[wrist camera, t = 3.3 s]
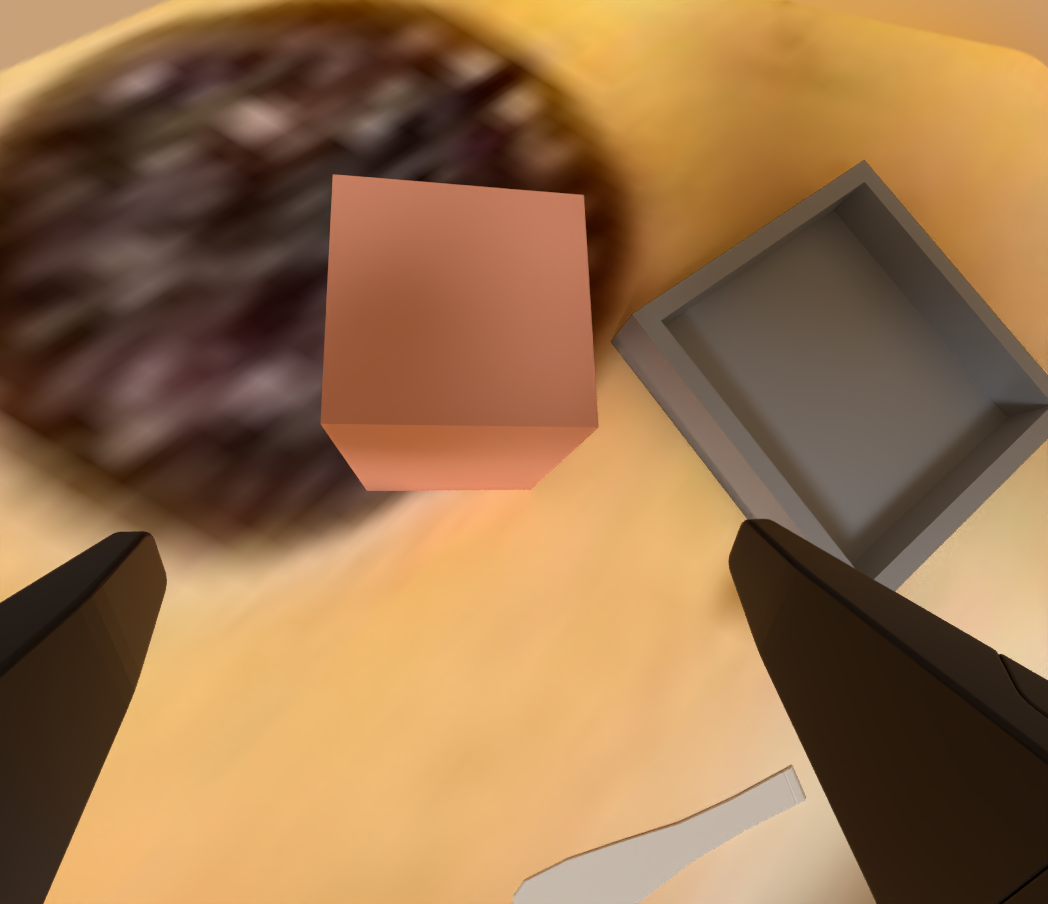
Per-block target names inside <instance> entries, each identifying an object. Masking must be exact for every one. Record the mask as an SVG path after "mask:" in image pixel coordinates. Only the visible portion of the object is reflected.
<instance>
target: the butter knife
mask: <svg viewBox="0 0 1048 904" xmlns="http://www.w3.org/2000/svg"><path fill="white" fill-rule="evenodd" d="M805 799H806V796H805V793H804V791H803V789H802V786H801V784H800V782H799V779H798V777H797V775H796V772H795V770H794V768H793V765H791V766H789V767H788V768H786V769H784V770H783V772H782V771H780V772H778V773H777V774H775V775H773V776H771V777H769V778H767V779H765V780H764V781H762V782H760V783H758V784H756V785H754V786H753V787H751V788H749V789H747V790H745V791H743V792H741V793H739V794H738V795H736V796H734V797H732V798H730V799H728V800H726V801H724V802H721V803H719V804H717V805H715V806H713V807H710V808H708V809H706V810H704V811H702V812H700V813H697V814H695V815H693V816H691V817H689V818H687V819H684V820H682V821H680V822H678V823H675V824H672V825H668V826H665V827H662V828H659V829H656V830H653V831H649V832H646V833H643V834H640V835H637V836H633V837H630V838H627V839H623V840H620V841H617V842H614V843H611V844H608V845H605V846H603V847H600V848H597V849H594V850H591V851H588V852H585V853H582V854H579V855H576V856H573V857H570V858H566V859H564V860H562V861H560V862H558V863H556V864H555V865H553V866H551V867H549V868H547V869H545V870H543V871H541V872H539V873H537V874H535V875H533V876H531V877H529V878H527V879H525V880H524V881H523V882H522V884H521V885H520V887H519V888H518V889H517V891H516V892H515V894H514V897H513V904H638V903H639V902H641V901H642V900H643V899H645V898H646V897H647V896H649V895H650V894H651V893H652V892H654V891H655V890H656V889H658V888H659V887H660V886H662V885H663V884H664V883H665V882H667V881H668V880H669V879H671V878H672V877H673V876H675V875H676V874H677V873H678V872H680V871H681V870H682V869H684V868H685V867H686V866H687V865H689V864H690V863H691V862H693V861H694V860H696V859H698V858H699V857H701V856H703V855H704V854H706V853H708V852H709V851H711V850H713V849H715V848H716V847H718V846H720V845H721V844H723V843H725V842H726V841H728V840H730V839H731V838H733V837H735V836H736V835H738V834H740V833H742V832H743V831H745V830H747V829H749V828H751V827H753V826H755V825H757V824H759V823H761V822H763V821H765V820H767V819H769V818H771V817H773V816H775V815H777V814H779V813H781V812H783V811H785V810H787V809H789V808H791V807H793V806H795V805H796V804H799V803H800V802H802V801H804V800H805Z"/></svg>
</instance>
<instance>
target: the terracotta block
mask: <svg viewBox="0 0 1048 904" xmlns="http://www.w3.org/2000/svg"><path fill="white" fill-rule="evenodd" d="M321 425H322V427H323V428H324V429H325V431H326V432H327V434H328V435H329V437H330V438H331V440H332V441H333V442H334V444H335V445H336V447H337V448H338V450H339V451H340V452H341V454H342V455H343V457H344V458H345V460H346V461H347V463H348V464H349V465H350V467H351V468H352V470H353V471H354V473H355V474H356V476H357V477H358V478H359V480H360V481H361V483H362V484H363V486H364V487H365V488H366V490H367V491H428V490H531V489H532V488H533V487H534V486H535V485H536V484H537V483H538V482H539V481H541V480H542V479H543V478H544V477H545V476H546V475H547V474H548V473H549V472H550V471H551V470H552V469H554V468H555V467H556V466H557V465H558V464H559V463H560V462H561V461H562V460H563V459H564V458H566V457H567V456H568V455H569V454H570V453H571V452H572V451H573V450H574V449H575V448H576V447H578V446H579V445H580V444H581V443H582V442H583V441H584V440H585V439H586V438H587V437H588V436H590V435H591V434H592V433H593V432H594V431H595V430H596V429H597V428H598V413H597V397H596V382H595V366H594V350H593V334H592V318H591V302H590V286H589V270H588V254H587V239H586V223H585V207H584V195H578V194H565V193H553V192H541V191H529V190H517V189H504V188H492V187H480V186H468V185H455V184H443V183H431V182H419V181H406V180H394V179H382V178H370V177H357V176H345V175H333V184H332V204H331V225H330V245H329V265H328V285H327V306H326V326H325V346H324V366H323V387H322V407H321Z"/></svg>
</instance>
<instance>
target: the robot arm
mask: <svg viewBox="0 0 1048 904" xmlns="http://www.w3.org/2000/svg"><path fill="white" fill-rule="evenodd" d="M729 569H730V573H731V575H732V578H733V581H734V584H735V587H736V590H737V593H738V595H739V598H740V601H741V604H742V607H743V610H744V613H745V615H746V618H747V621H748V624H749V627H750V630H751V633H752V636H753V638H754V641H755V644H756V646H757V649H758V651H759V654H760V656H761V658H762V660H763V663H764V665H765V667H766V669H767V671H768V674H769V676H770V678H771V680H772V682H773V684H774V686H775V688H776V691H777V693H778V695H779V697H780V699H781V701H782V703H783V705H784V708H785V710H786V712H787V714H788V716H789V718H790V720H791V722H792V725H793V727H794V729H795V731H796V733H797V735H798V737H799V739H800V742H801V744H802V746H803V748H804V750H805V752H806V754H807V757H808V759H809V761H810V763H811V765H812V767H813V769H814V771H815V774H816V776H817V778H818V780H819V782H820V784H821V786H822V788H823V791H824V793H825V795H826V797H827V799H828V801H829V803H830V805H831V808H832V810H833V812H834V814H835V816H836V818H837V820H838V822H839V825H840V827H841V829H842V831H843V833H844V835H845V837H846V839H847V842H848V844H849V846H850V848H851V850H852V852H853V854H854V857H855V859H856V861H857V863H858V865H859V867H860V869H861V871H862V874H863V876H864V878H865V880H866V882H867V884H868V886H869V888H870V891H871V893H872V895H873V897H874V899H875V901H876V903H877V904H1048V680H1046V679H1045V678H1043V677H1041V676H1039V675H1038V674H1036V673H1034V672H1032V671H1031V670H1029V669H1027V668H1025V667H1024V666H1022V665H1020V664H1019V663H1017V662H1015V661H1013V660H1012V659H1010V658H1008V657H1007V656H1005V655H1003V654H998V653H997V651H996V650H994V649H993V648H991V647H989V646H987V645H986V644H984V643H982V642H981V641H979V640H977V639H975V638H974V637H972V636H970V635H969V634H967V633H965V632H963V631H962V630H960V629H958V628H957V627H955V626H953V625H951V624H950V623H948V622H946V621H944V620H943V619H941V618H939V617H938V616H936V615H934V614H932V613H931V612H929V611H927V610H926V609H924V608H922V607H920V606H919V605H917V604H915V603H913V602H912V601H910V600H908V599H907V598H905V597H903V596H901V595H900V594H898V593H896V592H895V591H893V590H891V589H889V588H888V587H886V586H884V585H883V584H881V583H879V582H877V581H876V580H874V579H872V578H870V577H869V576H867V575H865V574H864V573H862V572H860V571H858V570H857V569H855V568H853V567H852V566H850V565H848V564H846V563H845V562H843V561H841V560H840V559H838V558H836V557H834V556H833V555H831V554H829V553H827V552H826V551H824V550H822V549H821V548H819V547H817V546H815V545H814V544H812V543H810V542H809V541H807V540H805V539H803V538H802V537H800V536H798V535H797V534H795V533H793V532H791V531H790V530H788V529H786V528H785V527H783V526H781V525H779V524H778V523H776V522H774V521H772V520H770V519H748V520H745V521H744V522H743V523H742V524H741V526H740V528H739V531H738V534H737V536H736V539H735V542H734V544H733V547H732V550H731V552H730V555H729ZM166 585H167V578H166V572H165V569H164V566H163V563H162V560H161V557H160V554H159V551H158V548H157V545H156V542H155V540H154V538H153V536H152V535H151V534H150V533H148V532H144V531H139V532H117V533H114V534H112V535H110V536H108V537H107V538H105V539H103V540H102V541H100V542H99V543H97V544H95V545H94V546H92V547H90V548H89V549H87V550H86V551H84V552H82V553H81V554H79V555H77V556H76V557H74V558H72V559H71V560H69V561H68V562H66V563H64V564H63V565H61V566H59V567H58V568H56V569H55V570H53V571H51V572H50V573H48V574H46V575H45V576H43V577H41V578H40V579H38V580H37V581H35V582H33V583H32V584H30V585H28V586H27V587H25V588H24V589H22V590H20V591H19V592H17V593H15V594H14V595H12V596H10V597H9V598H7V599H6V600H4V601H2V602H1V603H0V904H43V903H44V901H45V899H46V896H47V894H48V892H49V890H50V887H51V885H52V883H53V880H54V878H55V876H56V873H57V871H58V869H59V866H60V864H61V862H62V859H63V857H64V855H65V853H66V850H67V848H68V846H69V843H70V841H71V839H72V836H73V834H74V832H75V829H76V827H77V825H78V822H79V820H80V818H81V816H82V813H83V811H84V809H85V806H86V804H87V802H88V799H89V797H90V795H91V792H92V790H93V788H94V786H95V783H96V781H97V779H98V776H99V774H100V772H101V769H102V767H103V765H104V762H105V760H106V758H107V755H108V753H109V751H110V749H111V746H112V744H113V742H114V739H115V737H116V735H117V732H118V730H119V728H120V725H121V723H122V721H123V718H124V716H125V714H126V712H127V709H128V707H129V704H130V702H131V699H132V697H133V694H134V692H135V689H136V686H137V683H138V680H139V677H140V674H141V671H142V667H143V664H144V661H145V657H146V654H147V651H148V647H149V644H150V641H151V638H152V634H153V631H154V628H155V624H156V621H157V618H158V614H159V611H160V608H161V604H162V601H163V598H164V594H165V591H166Z"/></svg>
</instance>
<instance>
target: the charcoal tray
mask: <svg viewBox="0 0 1048 904" xmlns="http://www.w3.org/2000/svg"><path fill="white" fill-rule="evenodd" d="M611 343H612V344H613V345H614V346H615V348H616V349H617V350H618V352H619V353H620V354H621V356H622V357H623V358H624V359H625V361H626V362H627V363H628V365H629V366H630V367H631V368H632V370H633V371H634V372H635V374H636V375H637V376H638V378H639V379H640V380H641V381H642V383H643V384H644V385H645V387H646V388H647V389H648V391H649V392H650V393H651V394H652V396H653V397H654V398H655V400H656V401H657V402H658V404H659V405H660V406H661V407H662V409H663V410H664V411H665V413H666V414H667V415H668V417H669V418H670V419H671V420H672V422H673V423H674V424H675V426H676V427H677V428H678V430H679V431H680V432H681V433H682V435H683V436H684V437H685V439H686V440H687V441H688V442H689V444H690V445H691V446H692V448H693V449H694V450H695V452H696V453H697V454H698V455H699V457H700V458H701V459H702V461H703V462H704V463H705V465H706V466H707V467H708V468H709V470H710V471H711V472H712V474H713V475H714V476H715V478H716V479H717V480H718V481H719V483H720V484H721V485H722V487H723V488H724V489H725V491H726V492H727V493H728V494H729V496H730V497H731V498H732V500H733V501H734V502H735V504H736V505H737V506H738V507H739V509H740V510H741V511H742V513H743V514H744V515H745V517H746V518H747V519H770V520H772V521H774V522H776V523H778V524H779V525H781V526H783V527H785V528H786V529H788V530H790V531H791V532H793V533H795V534H797V535H798V536H800V537H802V538H803V539H805V540H807V541H809V542H810V543H812V544H814V545H815V546H817V547H819V548H821V549H822V550H824V551H826V552H827V553H829V554H831V555H833V556H834V557H836V558H838V559H840V560H841V561H843V562H845V563H846V564H848V565H850V566H852V567H853V568H855V569H857V570H858V571H860V572H862V573H864V574H865V575H867V576H869V577H870V578H872V579H874V580H876V581H877V582H879V583H881V584H883V585H884V586H886V587H888V588H889V589H891V590H893V591H896V590H897V589H898V588H899V587H900V586H901V585H902V584H903V583H904V582H905V581H906V580H907V579H908V578H909V577H910V576H911V575H912V574H913V573H914V572H915V571H916V570H917V569H918V568H919V567H920V566H921V565H922V564H923V563H924V562H925V561H926V560H927V559H928V558H929V557H930V556H931V555H932V554H933V553H934V552H935V551H936V550H937V549H938V548H939V547H940V546H941V545H942V544H943V543H944V542H945V541H946V540H947V539H948V538H949V537H950V536H951V535H952V534H953V533H954V532H955V531H956V530H957V529H958V528H959V527H960V526H961V525H962V524H963V523H964V522H965V521H966V520H967V519H968V518H969V517H970V516H971V515H972V514H973V513H974V512H975V511H976V510H977V509H978V508H979V507H980V506H981V505H982V504H983V503H984V502H985V501H986V500H987V499H988V498H989V497H990V496H991V495H992V494H993V493H994V492H995V491H996V490H997V489H998V488H999V487H1000V486H1001V485H1002V484H1003V483H1004V482H1005V481H1006V480H1007V479H1008V478H1009V477H1010V476H1011V475H1012V474H1013V473H1014V472H1015V471H1016V470H1017V469H1018V468H1019V467H1020V466H1021V465H1022V464H1023V463H1024V462H1025V461H1026V460H1027V459H1028V458H1029V457H1030V456H1031V455H1032V454H1033V453H1034V452H1035V451H1036V450H1037V449H1038V448H1039V447H1040V446H1041V445H1042V444H1043V443H1044V442H1045V441H1046V440H1047V439H1048V375H1047V374H1046V373H1045V372H1044V371H1043V370H1042V368H1041V367H1040V366H1039V365H1038V364H1037V362H1036V361H1035V360H1034V359H1033V358H1032V357H1031V355H1030V354H1029V353H1028V352H1027V351H1026V350H1025V348H1024V347H1023V346H1022V345H1021V344H1020V342H1019V341H1018V340H1017V339H1016V338H1015V337H1014V335H1013V334H1012V333H1011V332H1010V331H1009V329H1008V328H1007V327H1006V326H1005V325H1004V324H1003V322H1002V321H1001V320H1000V319H999V318H998V317H997V315H996V314H995V313H994V312H993V311H992V309H991V308H990V307H989V306H988V305H987V304H986V302H985V301H984V300H983V299H982V298H981V297H980V295H979V294H978V293H977V292H976V291H975V289H974V288H973V287H972V286H971V285H970V284H969V282H968V281H967V280H966V279H965V278H964V277H963V275H962V274H961V273H960V272H959V271H958V269H957V268H956V267H955V266H954V265H953V264H952V262H951V261H950V260H949V259H948V258H947V256H946V255H945V254H944V253H943V252H942V251H941V249H940V248H939V247H938V246H937V245H936V244H935V242H934V241H933V240H932V239H931V238H930V236H929V235H928V234H927V233H926V232H925V231H924V229H923V228H922V227H921V226H920V225H919V224H918V222H917V221H916V220H915V219H914V218H913V216H912V215H911V214H910V213H909V212H908V211H907V209H906V208H905V207H904V206H903V205H902V203H901V202H900V201H899V200H898V199H897V198H896V196H895V195H894V194H893V193H892V192H891V191H890V189H889V188H888V187H887V186H886V185H885V183H884V182H883V181H882V180H881V179H880V178H879V176H878V175H877V174H876V173H875V172H874V171H873V169H872V168H871V167H870V166H869V165H868V163H867V162H866V161H865V160H863V161H862V162H860V163H859V164H857V165H856V166H854V167H853V168H851V169H850V170H848V171H847V172H845V173H844V174H842V175H841V176H839V177H838V178H836V179H835V180H833V181H832V182H830V183H829V184H827V185H826V186H824V187H823V188H821V189H820V190H818V191H817V192H815V193H814V194H812V195H811V196H809V197H808V198H806V199H805V200H803V201H802V202H800V203H799V204H797V205H796V206H794V207H793V208H791V209H790V210H788V211H787V212H785V213H784V214H782V215H781V216H779V217H778V218H776V219H775V220H773V221H772V222H770V223H769V224H767V225H766V226H764V227H762V228H761V229H759V230H758V231H756V232H755V233H753V234H752V235H750V236H749V237H747V238H746V239H744V240H743V241H741V242H740V243H738V244H737V245H735V246H734V247H732V248H731V249H729V250H728V251H726V252H725V253H723V254H722V255H720V256H719V257H717V258H716V259H714V260H713V261H711V262H710V263H708V264H707V265H705V266H704V267H702V268H701V269H699V270H698V271H696V272H695V273H693V274H692V275H690V276H689V277H687V278H686V279H684V280H683V281H681V282H680V283H678V284H677V285H675V286H674V287H672V288H671V289H669V290H668V291H666V292H665V293H663V294H662V295H660V296H659V297H657V298H656V299H654V300H653V301H651V302H650V303H648V304H647V305H645V306H644V307H642V308H640V309H639V310H637V311H636V312H634V313H633V314H632V315H631V316H630V317H629V319H628V320H627V321H626V323H625V324H624V325H623V327H622V328H621V329H620V331H619V332H618V333H617V335H616V336H615V337H614V339H613V340H612V341H611Z"/></svg>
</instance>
